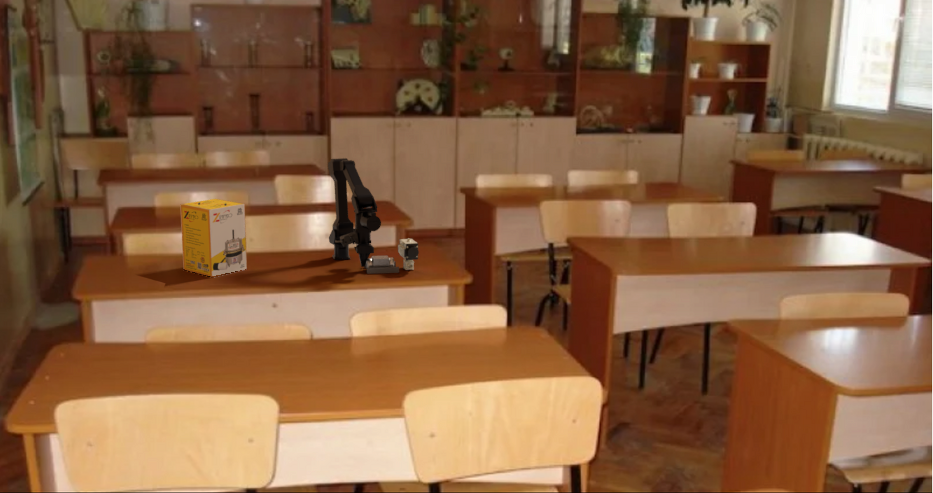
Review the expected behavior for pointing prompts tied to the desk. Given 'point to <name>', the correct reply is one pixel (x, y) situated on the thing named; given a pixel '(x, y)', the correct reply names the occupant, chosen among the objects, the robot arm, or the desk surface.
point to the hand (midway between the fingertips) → (362, 266)
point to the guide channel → (382, 269)
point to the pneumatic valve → (408, 252)
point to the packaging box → (213, 236)
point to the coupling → (380, 262)
